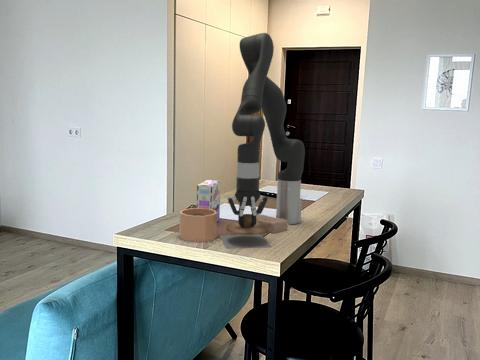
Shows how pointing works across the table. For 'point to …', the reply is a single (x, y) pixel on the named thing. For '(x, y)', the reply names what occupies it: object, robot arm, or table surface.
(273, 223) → the brick
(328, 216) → the table surface
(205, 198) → the candy box
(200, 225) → the pot
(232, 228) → the lid
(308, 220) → the table surface
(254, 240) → the mat
